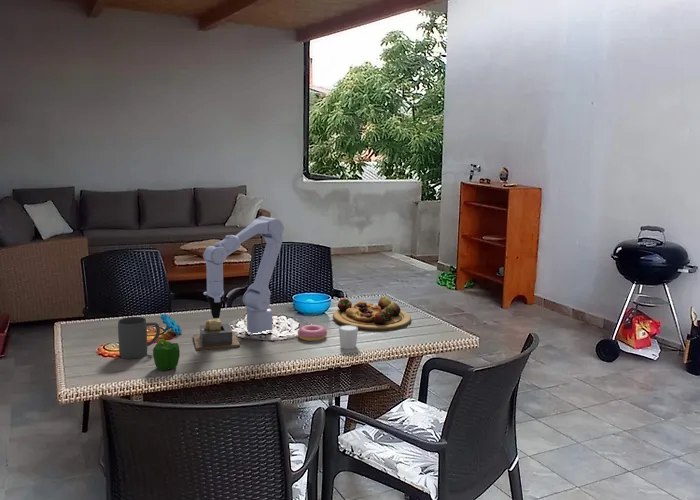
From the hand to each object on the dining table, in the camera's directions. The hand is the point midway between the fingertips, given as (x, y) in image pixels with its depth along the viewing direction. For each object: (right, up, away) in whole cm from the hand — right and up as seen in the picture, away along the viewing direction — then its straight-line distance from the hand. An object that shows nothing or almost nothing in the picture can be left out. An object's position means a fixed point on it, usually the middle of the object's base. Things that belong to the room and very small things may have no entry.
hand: (215, 316), depth 232 cm
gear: (-19, -8, +11) cm, 23 cm away
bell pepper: (-11, -14, -24) cm, 30 cm away
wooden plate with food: (+57, -5, +34) cm, 67 cm away
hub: (0, -9, +2) cm, 9 cm away
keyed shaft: (-1, -8, +1) cm, 8 cm away
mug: (-23, -11, -12) cm, 28 cm away
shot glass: (+48, -11, 0) cm, 49 cm away
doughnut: (+34, -9, +10) cm, 36 cm away
